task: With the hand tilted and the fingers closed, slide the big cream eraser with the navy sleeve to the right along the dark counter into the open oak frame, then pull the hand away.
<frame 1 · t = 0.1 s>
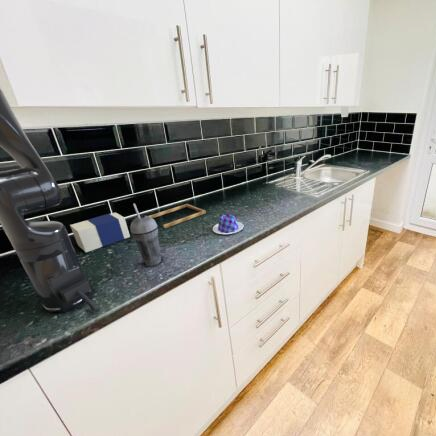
beverage cup: (153, 262, 81), on the countertop
pudding: (228, 229, 102), on the countertop
oak frame: (176, 216, 113), on the countertop
eraser: (104, 241, 93), on the countertop
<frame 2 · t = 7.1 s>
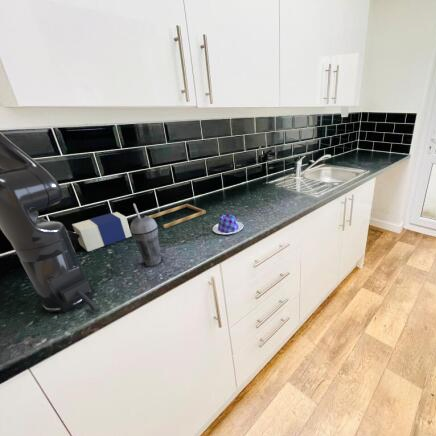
hand: (77, 237, 86), 4 cm above the countertop, tool tilted 45°, fingers closed
eraser: (106, 240, 94), on the countertop, touching gripper
everything else where it was.
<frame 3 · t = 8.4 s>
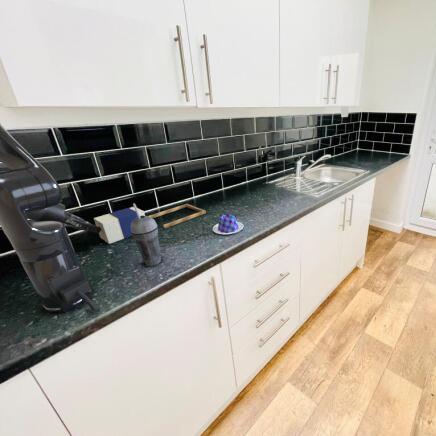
hand: (99, 230, 91), 4 cm above the countertop, tool tilted 45°, fingers closed
eraser: (125, 233, 98), on the countertop, touching gripper
everything else where it was.
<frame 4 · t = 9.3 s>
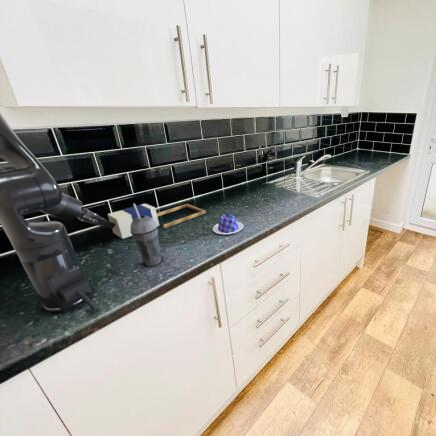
hand: (113, 226, 94), 4 cm above the countertop, tool tilted 45°, fingers closed
eraser: (137, 229, 102), on the countertop, touching gripper
everything else where it was.
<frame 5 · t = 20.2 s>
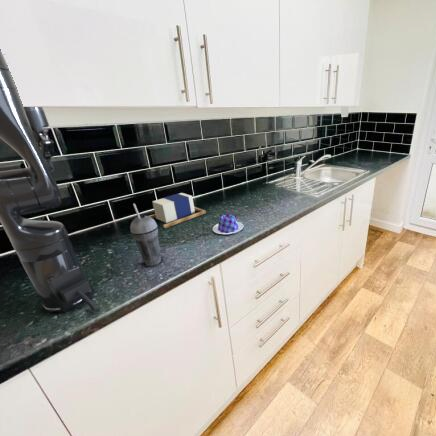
hand: (49, 171, 77), 27 cm above the countertop, tool pointing down, fingers closed
eraser: (176, 215, 114), on the countertop
everything else where it was.
at the end: eraser inside the target area on the oak frame (1.1 cm from its centre), point 0.0 cm above the oak frame's base; eraser tilted 0°; the gripper is holding nothing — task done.
